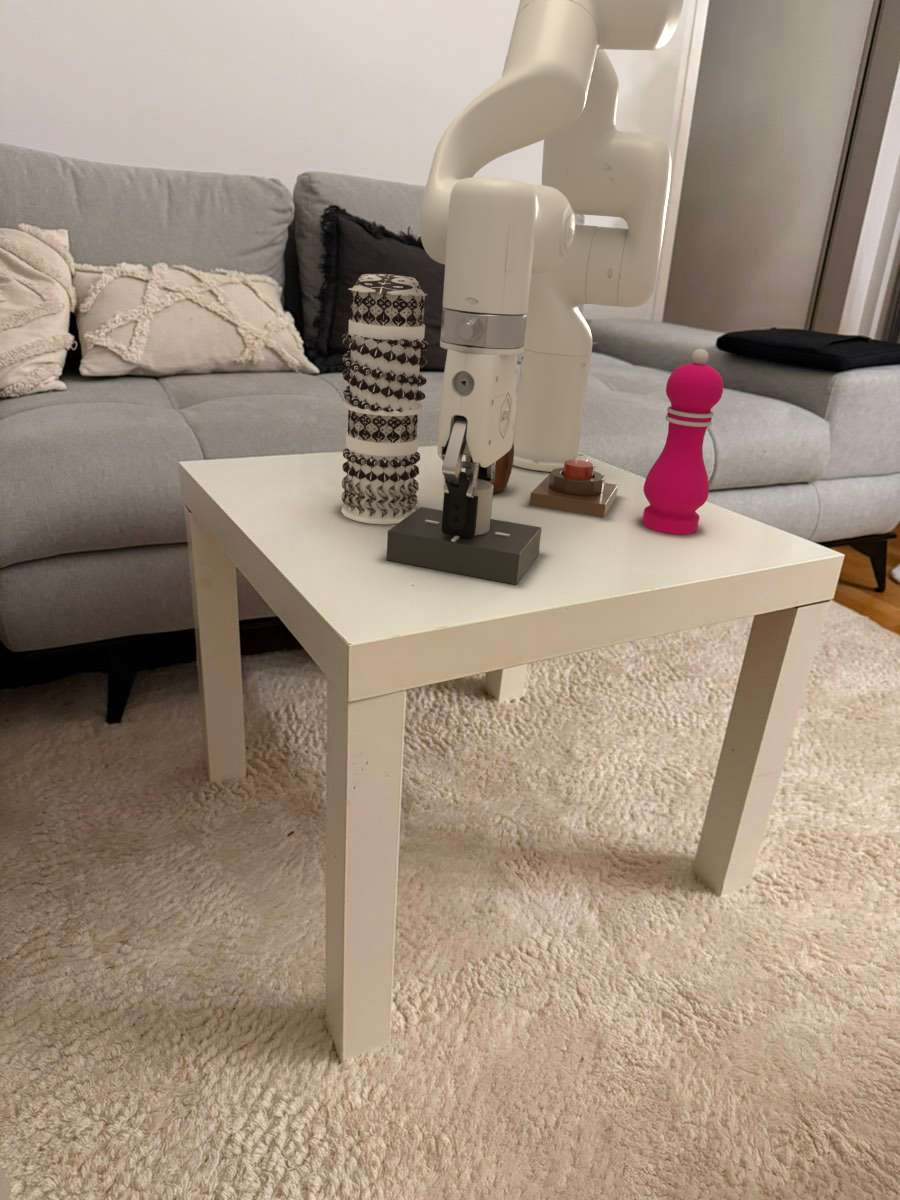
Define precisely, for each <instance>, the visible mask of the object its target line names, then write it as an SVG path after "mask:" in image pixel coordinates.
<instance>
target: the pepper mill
mask: <svg viewBox="0 0 900 1200" xmlns="http://www.w3.org/2000/svg"><path fill="white" fill-rule="evenodd" d="M709 357H710V355H709V353H708V351H707V350H706V349H704V348H698V349H696V350H694V351H693V352H692V354H691V362H692V363H691V362H690V363H686V364H683V365H680V366H678V367H676V368H675V369H674V370H673V371H672V372H671V374H670V375H669V377H668V379H667V381H666V386H665V393H666V397H667V398H668V400H669V402H670V406H668V407H667V408H666V411H667V413H666V415H665V420H666V421H667V422H668V429H667V436H666V439H665V444H664V446H663V448H662V451H661V453H660V454H659V456H658V458H657V459H656V460H655V462H654V463H653V465H652V466H651V468H650V469H649V471H648V472H647V475H646V477H645V481H644V485H643V489H642V490H643V494H644V497H645V499H646V501H648V503H649V505H647V506H645V507H644V509H643V514H642V515H643V516H642V520H641V521H642V525H643V526H644V527H645V528H647V529H649V530H652V531H654V532H658V533H663V534H668V535H675V536H676V535H678V536H685V535H692V534H694V533H696V532H697V530H698V527H699V521H700V515H699V514H698V512H697V510H698V509H700V508H701V507H703V505H705V503H706V502H707V501H708V498H709V490H710V483H709V475H708V473H707V472H708V471H707V469H706V465H705V461H704V450H703V449H704V448H703V446H704V441H705V440H704V439H705V435H706V432H707V429H708V427H710V426H711V425H712V424H713V421H712V419H713V416H714V412H713V411H711V410H712V409H713V408H714V406H716V405H717V404H718V403H719V401H720V400H721V399H722V396H723V394H724V381H723V378H722V376H721V373H720V372H719V371H718V370H716V369H715V368H714V367H713V366H710V365H707V362H708V361H709V359H710V358H709Z"/></svg>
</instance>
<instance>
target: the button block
mask: <svg viewBox="0 0 900 1200" xmlns="http://www.w3.org/2000/svg"><path fill="white" fill-rule="evenodd" d="M563 470H564V467H563V468H557V469H553V470H552V471H551V472H549V473H550V474H548V475H547V476H546V477H545V478H544V479H543V480H542V481H541V482H540V483H539V484H538V485H537V486H536V487H535V488H534V489H533V490H532V491H531V492H530V498H529V499H530V500H529V506H530V507H534V508H542V509H548V510H553V511H559V512H566V513H572V514H579V515H584V516H589V517H596V518H602V519H604V518H605V516H607V513H608V512H609V510H610V509H611V506H612V505H613V504H614V502H615V500H616V498H617V496H618V488H619V485H618V484H614V483H608V482H606V476H605V475H604V474H602V473H601V472H598V471H595V470H593V477H592V478H591V479H576V478H570V477H567V476H564V475H563Z"/></svg>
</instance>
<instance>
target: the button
mask: <svg viewBox="0 0 900 1200" xmlns="http://www.w3.org/2000/svg"><path fill="white" fill-rule="evenodd" d="M593 471H595V464H594V463H593V462H591V461H588V462H587V461H582V460H567V461H565V462H564V470H563V475H564V476H567V477H570V478H576V479H591V478H592V477H593Z"/></svg>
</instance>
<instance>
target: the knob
mask: <svg viewBox="0 0 900 1200" xmlns="http://www.w3.org/2000/svg"><path fill="white" fill-rule="evenodd" d="M474 496H478V507H477V518H476V529H475V535H482V534H485V533H487V532H488V531H489V528H490V517H491V518H492V510H491V507H492V508H493V500H492V496H493V497H494V493H493V484H492V483H490V482H488V481H485V480H481V479H477V484H476V490H475V495H474Z"/></svg>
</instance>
